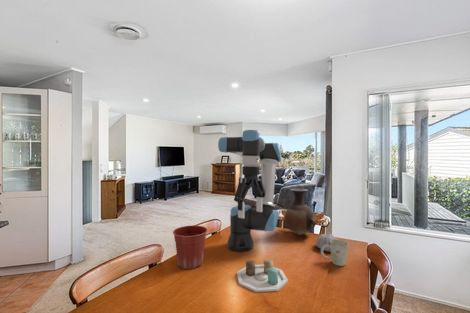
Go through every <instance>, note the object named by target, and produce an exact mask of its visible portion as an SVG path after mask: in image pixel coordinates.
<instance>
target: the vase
mask: <svg viewBox="0 0 470 313" xmlns="http://www.w3.org/2000/svg"><path fill="white" fill-rule="evenodd" d="M289 191H291V192H293V194H294V195H293V196H294V201H293V203H292V204H291V205H289V206H288V207H287V208H286V210H285V213H284V226H285V227H286V229H288V230H289V231H290V232H292V233H295V234H296V235H298V236H302V235H304V234H307V233H309V232H312V231H314V229H315V226H316V219H315V218H316V217H315V215H314V214H315V213H314V212H313V210H312V209H311V207H310V206H309V205H307V202H305V201H304V193H306V192H308V191H309V189H307V188H289Z"/></svg>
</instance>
